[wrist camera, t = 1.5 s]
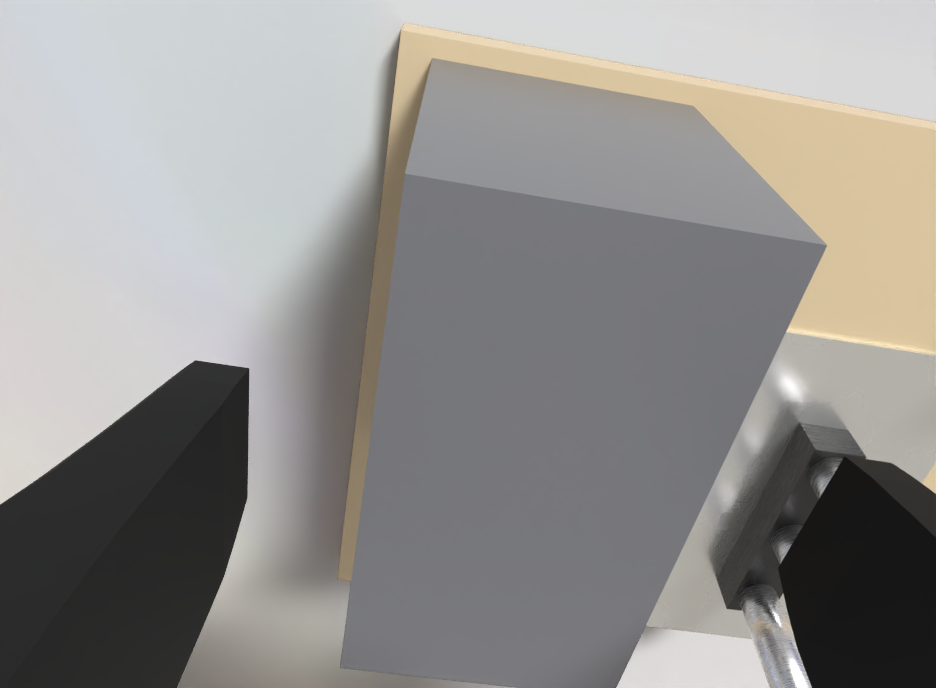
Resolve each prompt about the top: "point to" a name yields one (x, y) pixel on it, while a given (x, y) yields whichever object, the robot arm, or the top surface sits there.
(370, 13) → the top surface
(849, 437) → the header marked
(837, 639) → the robot arm
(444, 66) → the plug housing
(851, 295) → the tan square board
